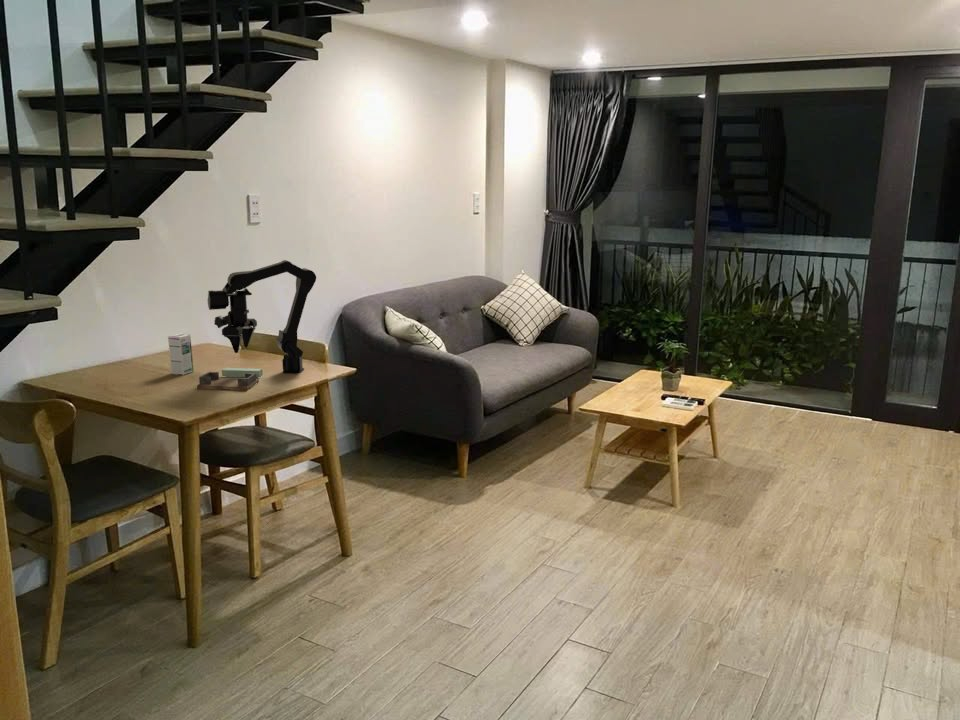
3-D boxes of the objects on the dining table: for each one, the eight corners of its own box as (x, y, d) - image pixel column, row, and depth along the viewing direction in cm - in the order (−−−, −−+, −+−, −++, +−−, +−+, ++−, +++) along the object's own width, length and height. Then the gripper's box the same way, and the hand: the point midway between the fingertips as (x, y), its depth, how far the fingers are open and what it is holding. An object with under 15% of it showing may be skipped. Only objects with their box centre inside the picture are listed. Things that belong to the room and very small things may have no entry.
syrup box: (183, 375, 297) (180, 336, 293) (170, 373, 299) (167, 335, 295) (193, 371, 302) (191, 333, 298) (181, 370, 304) (178, 332, 300)
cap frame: (258, 382, 288) (258, 372, 287) (247, 390, 277) (246, 380, 277) (210, 380, 290) (209, 370, 289) (197, 388, 279) (196, 378, 278)
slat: (262, 376, 298) (262, 368, 297) (259, 379, 294) (259, 371, 293) (225, 375, 298) (225, 367, 298) (222, 377, 295) (221, 370, 294)
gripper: (227, 303, 300) (230, 344, 304) (206, 311, 282) (209, 355, 286) (256, 303, 299) (258, 344, 303) (236, 312, 281) (239, 356, 285)
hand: (241, 350), depth 294 cm, fingers open, 9 cm apart
